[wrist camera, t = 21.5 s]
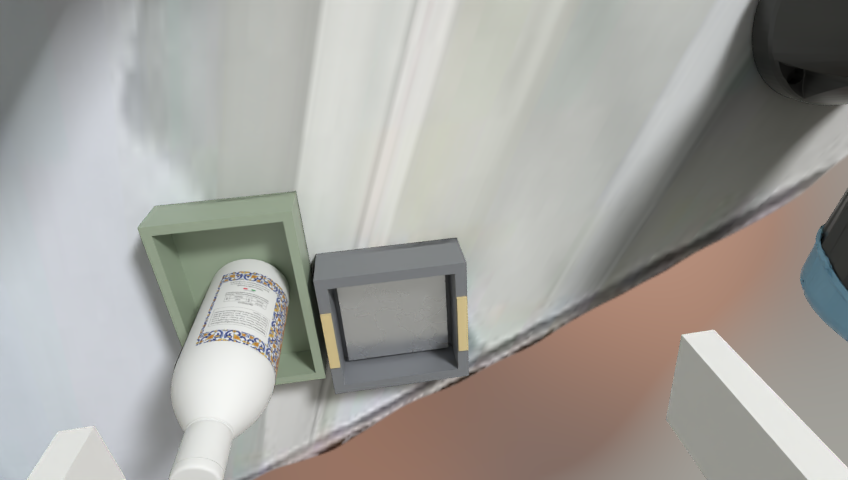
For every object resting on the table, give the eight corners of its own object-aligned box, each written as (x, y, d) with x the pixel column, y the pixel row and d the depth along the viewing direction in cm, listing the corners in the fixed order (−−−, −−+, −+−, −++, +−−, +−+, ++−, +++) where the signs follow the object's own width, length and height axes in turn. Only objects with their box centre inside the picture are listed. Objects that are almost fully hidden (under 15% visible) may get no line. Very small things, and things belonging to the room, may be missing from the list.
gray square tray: (456, 237, 47) (467, 264, 43) (459, 345, 54) (469, 377, 50) (316, 253, 46) (313, 282, 42) (336, 361, 53) (335, 396, 48)
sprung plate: (443, 258, 47) (444, 263, 47) (446, 342, 52) (448, 347, 51) (334, 271, 46) (334, 276, 46) (349, 355, 51) (349, 360, 50)
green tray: (295, 191, 43) (291, 211, 40) (327, 350, 52) (325, 378, 48) (154, 206, 42) (137, 227, 39) (210, 365, 51) (200, 395, 47)
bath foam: (255, 331, 49) (205, 536, 31) (195, 289, 46) (101, 489, 28) (306, 288, 47) (283, 478, 30) (247, 241, 44) (182, 423, 27)
